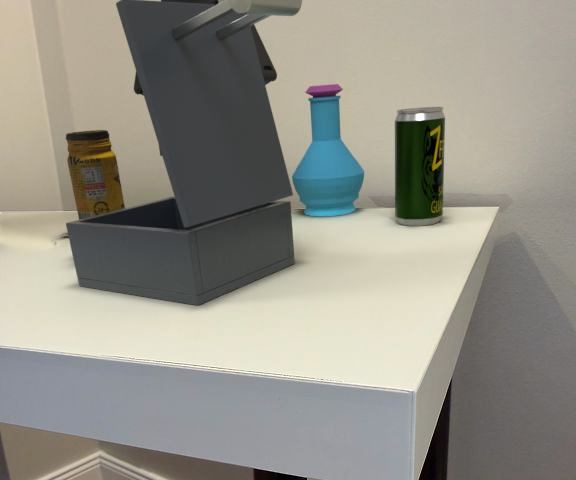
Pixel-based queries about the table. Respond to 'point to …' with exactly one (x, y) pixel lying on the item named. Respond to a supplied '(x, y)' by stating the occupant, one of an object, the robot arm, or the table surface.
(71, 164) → the condiment
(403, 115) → the beer can
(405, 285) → the table surface
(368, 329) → the table surface
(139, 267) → the gray storage case
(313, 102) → the perfume bottle
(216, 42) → the lid
